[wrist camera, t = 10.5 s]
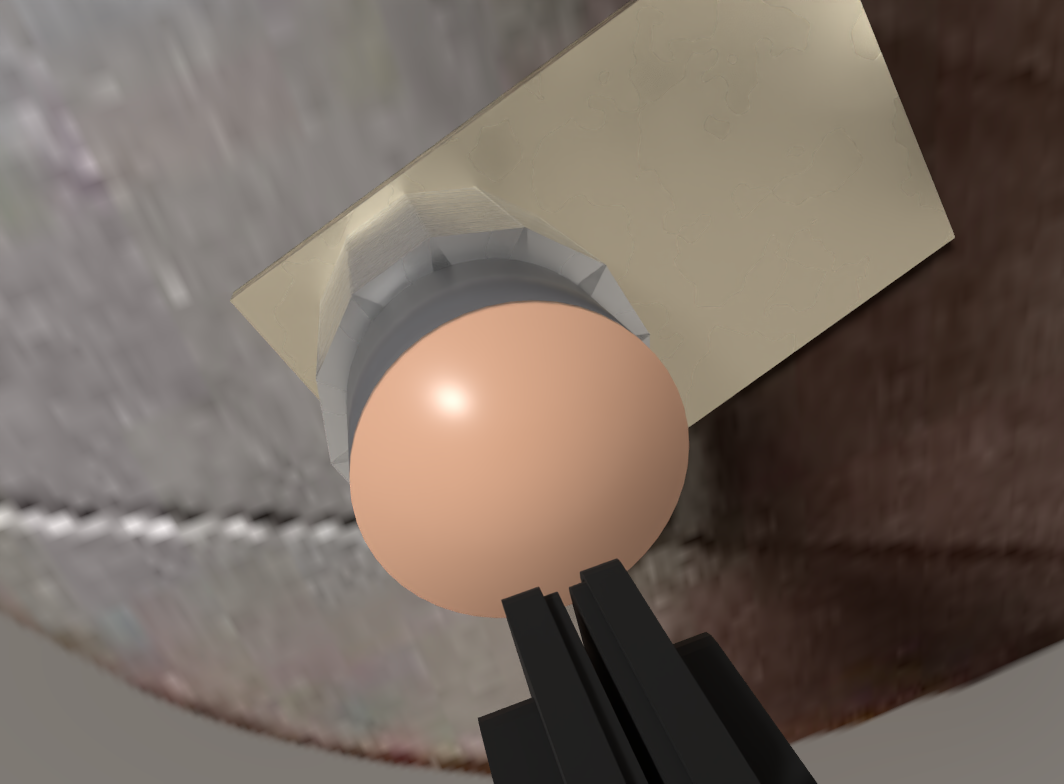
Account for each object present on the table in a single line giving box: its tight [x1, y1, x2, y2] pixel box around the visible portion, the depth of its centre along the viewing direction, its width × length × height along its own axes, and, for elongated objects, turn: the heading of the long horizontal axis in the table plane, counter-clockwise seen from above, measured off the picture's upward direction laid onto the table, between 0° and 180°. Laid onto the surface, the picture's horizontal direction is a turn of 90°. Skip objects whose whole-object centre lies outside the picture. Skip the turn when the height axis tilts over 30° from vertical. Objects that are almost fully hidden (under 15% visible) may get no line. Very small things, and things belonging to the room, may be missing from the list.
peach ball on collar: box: [346, 258, 689, 618], centre depth 19 cm, size 7×7×7 cm
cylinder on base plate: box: [230, 0, 955, 483], centre depth 24 cm, size 21×13×8 cm, turn 124°
